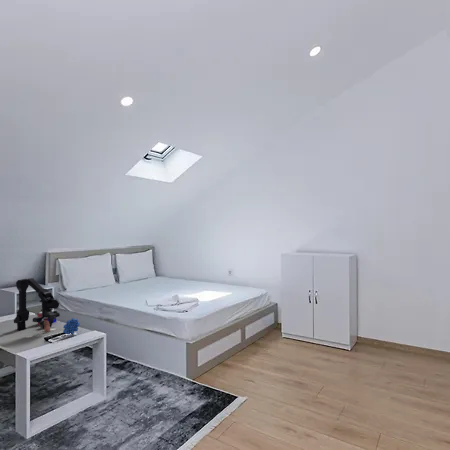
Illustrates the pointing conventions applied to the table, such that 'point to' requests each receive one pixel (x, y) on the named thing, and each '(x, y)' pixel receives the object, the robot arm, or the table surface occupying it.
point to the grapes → (71, 326)
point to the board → (39, 333)
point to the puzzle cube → (46, 318)
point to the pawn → (46, 326)
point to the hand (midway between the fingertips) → (47, 328)
